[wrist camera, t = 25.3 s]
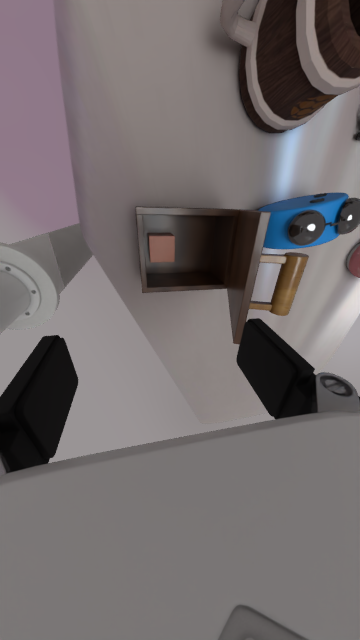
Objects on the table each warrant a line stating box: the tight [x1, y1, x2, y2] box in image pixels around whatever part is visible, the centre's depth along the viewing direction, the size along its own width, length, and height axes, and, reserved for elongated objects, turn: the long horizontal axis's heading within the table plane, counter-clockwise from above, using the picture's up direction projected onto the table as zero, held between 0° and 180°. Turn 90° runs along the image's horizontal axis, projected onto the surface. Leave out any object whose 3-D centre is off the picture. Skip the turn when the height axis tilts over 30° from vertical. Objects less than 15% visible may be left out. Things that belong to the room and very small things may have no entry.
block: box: [148, 233, 175, 262], centre depth 35 cm, size 4×4×4 cm
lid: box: [227, 210, 309, 344], centre depth 25 cm, size 17×13×5 cm
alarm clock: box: [258, 193, 360, 249], centre depth 33 cm, size 13×6×15 cm, turn 103°
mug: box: [220, 0, 360, 133], centre depth 22 cm, size 20×15×15 cm
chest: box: [135, 207, 240, 293], centre depth 35 cm, size 16×13×9 cm
